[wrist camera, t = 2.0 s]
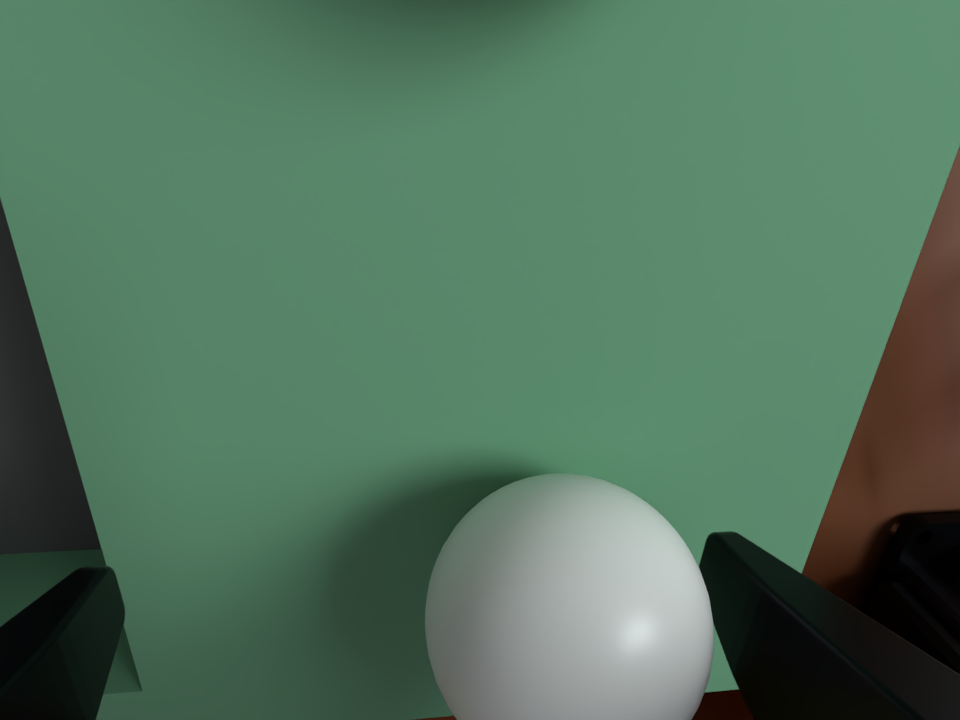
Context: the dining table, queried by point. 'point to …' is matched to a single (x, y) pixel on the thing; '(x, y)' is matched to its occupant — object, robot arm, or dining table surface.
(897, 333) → the dining table surface
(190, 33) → the putting mat
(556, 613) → the white ball
